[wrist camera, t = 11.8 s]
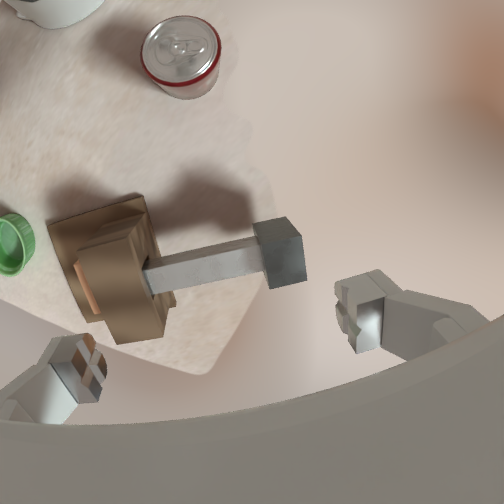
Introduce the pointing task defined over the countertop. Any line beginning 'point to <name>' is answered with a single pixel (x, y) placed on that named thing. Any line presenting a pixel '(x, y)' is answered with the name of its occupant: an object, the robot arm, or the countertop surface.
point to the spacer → (86, 287)
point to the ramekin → (15, 244)
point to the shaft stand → (114, 268)
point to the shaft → (234, 260)
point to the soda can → (182, 56)
